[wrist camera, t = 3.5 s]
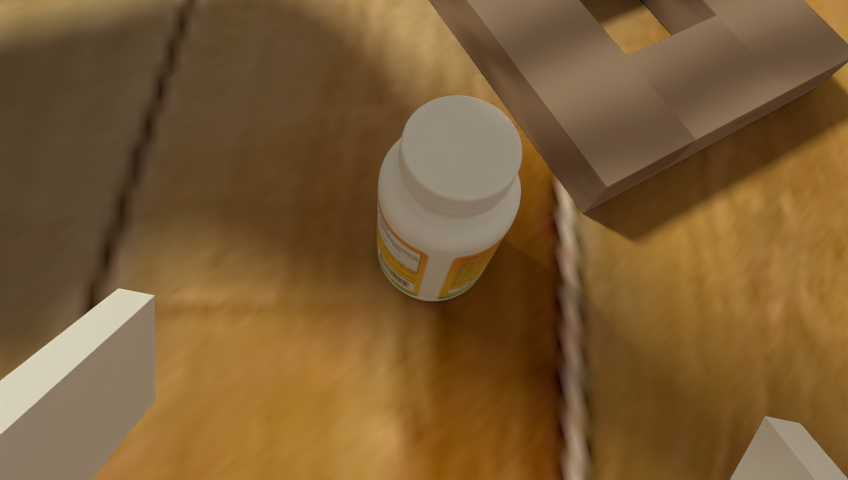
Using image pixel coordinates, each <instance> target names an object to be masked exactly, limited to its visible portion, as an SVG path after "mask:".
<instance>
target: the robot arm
mask: <svg viewBox="0 0 848 480" xmlns="http://www.w3.org/2000/svg"><path fill="white" fill-rule="evenodd" d="M154 401H155V295H150V294H145V293H140V292H135V291H130V290H125V289H120V288H118V289H117V290H116V291H114V292H113V293H112V294H111V295H109V296H108V297H107V298H105V299H104V300H103V301H102V302H100V303H99V304H98V305H97V306H95V307H94V308H93V309H91V310H90V311H89V312H88V313H86V314H85V315H84V316H82V317H81V318H80V319H79V320H77V321H76V322H75V323H74V324H72V325H71V326H70V327H68V328H67V329H66V330H65V331H63V332H62V333H61V334H59V335H58V336H57V337H56V338H54V339H53V340H52V341H50V342H49V343H48V344H47V345H45V346H44V347H43V348H42V349H40V350H39V351H38V352H36V353H35V354H34V355H33V356H31V357H30V358H29V359H27V360H26V361H25V362H24V363H22V364H21V365H20V366H18V367H17V368H16V369H15V370H13V371H12V372H11V373H10V374H8V375H7V376H6V377H4V378H3V379H2V380H1V381H0V480H92V478H93V477H94V476H95V475H96V473H97V472H98V471H99V470H100V468H101V467H102V466H103V465H104V463H105V462H106V461H107V460H108V459H109V457H110V456H111V455H112V454H113V452H114V451H115V450H116V449H117V447H118V446H119V445H120V444H121V442H122V441H123V440H124V439H125V437H126V436H127V435H128V434H129V432H130V431H131V430H132V429H133V427H134V426H135V425H136V424H137V422H138V421H139V420H140V419H141V417H142V416H143V415H144V414H145V412H146V411H147V410H148V409H149V407H150V406H151V405H152V404H153V402H154ZM730 480H848V479H847V477H846V476H845V475H844V474H843V473H842V472H841V470H840V469H839V468H838V467H837V466H836V464H835V463H834V462H833V461H832V460H831V459H830V457H829V456H828V455H827V454H826V453H825V452H824V450H823V449H822V448H821V447H820V446H819V445H818V443H817V442H816V441H815V440H814V439H813V438H812V436H811V435H810V434H809V433H808V432H807V431H806V429H805V428H804V427H803V426H802V425H801V424H800V423H797V422H792V421H787V420H782V419H777V418H772V417H767V416H765V418H764V419H763V421H762V423H761V425H760V427H759V428H758V430H757V432H756V434H755V436H754V437H753V439H752V441H751V443H750V445H749V446H748V448H747V450H746V452H745V454H744V455H743V457H742V459H741V461H740V463H739V464H738V466H737V468H736V470H735V472H734V473H733V475H732V477H731V479H730Z"/></svg>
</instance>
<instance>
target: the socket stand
mask: <svg viewBox="0 0 848 480" xmlns="http://www.w3.org/2000/svg"><path fill="white" fill-rule="evenodd" d="M429 1H430V2H431V3H432V5H433V6H434V8H435V9H436V10H437V12H438V13H439V14H440V16H441V17H442V19H443V20H444V21H445V23H446V24H447V26H448V27H449V28H450V30H451V31H452V32H453V34H454V35H455V37H456V38H457V39H458V41H459V42H460V44H461V45H462V46H463V48H464V49H465V50H466V52H467V53H468V55H469V56H470V57H471V59H472V60H473V62H474V63H475V64H476V66H477V67H478V68H479V70H480V71H481V73H482V74H483V75H484V77H485V78H486V80H487V81H488V82H489V84H490V85H491V87H492V88H493V89H494V91H495V92H496V93H497V95H498V96H499V98H500V99H501V100H502V102H503V103H504V105H505V106H506V107H507V109H508V110H509V111H510V113H511V114H512V116H513V117H514V118H515V120H516V121H517V123H518V124H519V125H520V127H521V128H522V129H523V131H524V132H525V134H526V135H527V136H528V138H529V139H530V141H531V142H532V143H533V145H534V146H535V147H536V149H537V150H538V152H539V153H540V154H541V156H542V157H543V159H544V160H545V161H546V163H547V164H548V165H549V167H550V168H551V170H552V171H553V172H554V174H555V175H556V177H557V178H558V179H559V181H560V182H561V184H562V185H563V186H564V188H565V189H566V190H567V192H568V193H569V195H570V196H571V197H572V199H573V200H574V202H575V203H576V204H577V206H578V207H579V208H580V210H581V211H582V213H583V214H584V213H586V212H588V211H589V210H591V209H593V208H595V207H597V206H599V205H601V204H602V203H604V202H606V201H608V200H610V199H612V198H614V197H615V196H617V195H619V194H621V193H623V192H625V191H627V190H628V189H630V188H632V187H634V186H636V185H638V184H639V183H641V182H643V181H645V180H647V179H649V178H651V177H652V176H654V175H656V174H658V173H660V172H662V171H664V170H665V169H667V168H669V167H671V166H673V165H675V164H677V163H678V162H680V161H682V160H684V159H686V158H688V157H690V156H691V155H693V154H695V153H697V152H699V151H701V150H703V149H704V148H706V147H708V146H710V145H712V144H714V143H716V142H717V141H719V140H721V139H723V138H725V137H727V136H728V135H730V134H732V133H734V132H736V131H738V130H740V129H741V128H743V127H745V126H747V125H749V124H751V123H753V122H754V121H756V120H758V119H760V118H762V117H764V116H766V115H767V114H769V113H771V112H773V111H775V110H777V109H779V108H780V107H782V106H784V105H786V104H788V103H790V102H792V101H793V100H795V99H797V98H799V97H801V96H803V95H805V94H806V93H808V92H810V91H812V90H814V89H816V88H817V87H818V86H819V85H821V84H822V83H823V82H824V81H826V80H827V79H828V78H829V77H830V76H832V75H833V74H834V73H835V72H836V71H838V70H839V69H840V68H841V67H843V66H844V65H845V64H846V63H847V62H848V44H847V43H846V42H845V41H844V40H843V39H842V38H841V37H840V36H839V35H838V34H837V33H836V32H835V31H834V30H833V29H832V28H831V27H830V26H829V25H828V24H827V23H826V22H825V21H824V20H823V19H822V18H821V17H820V16H819V15H818V14H817V13H816V12H815V11H814V10H813V9H812V8H811V7H810V6H809V5H808V4H807V3H806V2H805V1H804V0H641V1H642V2H643V3H644V4H645V5H646V6H647V8H648V9H649V10H650V11H651V12H652V13H653V14H654V16H655V17H656V18H657V19H658V20H659V21H660V22H661V24H662V25H663V26H664V27H665V28H666V29H667V30H668V31H669V33H670V34H671V35H672V36H670V37H668V38H665V39H663V40H661V41H659V42H657V43H654V44H652V45H650V46H648V47H646V48H643V49H641V50H639V51H637V52H635V53H632V54H630V55H628V56H626V55H625V54H624V53H623V52H622V50H621V49H620V48H619V47H618V46H617V44H616V43H615V42H614V41H613V40H612V38H611V37H610V36H609V35H608V34H607V32H606V31H605V30H604V29H603V28H602V26H601V25H600V24H599V23H598V22H597V20H596V19H595V18H594V17H593V16H592V14H591V13H590V12H589V11H588V10H587V8H586V7H585V6H584V5H583V4H582V2H581V1H580V0H429Z"/></svg>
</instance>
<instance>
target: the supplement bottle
mask: <svg viewBox="0 0 848 480" xmlns="http://www.w3.org/2000/svg"><path fill="white" fill-rule="evenodd" d="M521 160H522V145H521V140H520V137H519V134H518V132H517V130H516V128H515V126H514V124H513V123H512V122H511V120H510V119H509V118H508V117H507V116H506V115H505V114H504V113H503V112H502V111H501V110H499V109H498V108H497V107H495V106H494V105H492V104H490V103H488V102H486V101H484V100H481V99H478V98H474V97H470V96H463V95H451V96H444V97H440V98H436V99H434V100H431V101H429V102H427V103H425V104H424V105H422V106H421V107H419V108H418V109H417V110H416V111H415V112H414V113H413V114H412V115H411V116H410V118H409V119H408V121H407V123H406V125H405V127H404V130H403V133H402V137H401V138H400V139H399V140H398V141H397V142H396V143H395V144H394V145H393V146H392V147H391V149H390V150H389V151H388V153H387V155H386V157H385V159H384V161H383V163H382V166H381V169H380V173H379V180H378V202H377V254H378V259H379V263H380V265H381V268H382V270H383V272H384V274H385V275H386V277H387V278H388V279H389V281H390V282H391V283H392V284H393V285H394V286H395V287H396V288H397V289H399V290H400V291H401V292H403V293H405V294H406V295H409V296H411V297H413V298H416V299H420V300H425V301H442V300H447V299H451V298H454V297H456V296H458V295H460V294H462V293H464V292H465V291H467V290H468V289H469V288H470V287H472V286H473V285H474V283H475V282H476V281H477V280H478V278H479V277H480V276H481V274H482V273H483V271H484V269H485V268H486V266H487V264H488V263H489V261H490V259H491V258H492V256H493V255H494V253H495V251H496V250H497V248H498V246H499V245H500V243H501V242H502V240H503V238H504V237H505V235H506V234H507V232H508V230H509V228H510V227H511V225H512V223H513V221H514V219H515V217H516V214H517V212H518V209H519V205H520V198H521V185H520V179H519V175H518V171H519V168H520V165H521Z"/></svg>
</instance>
